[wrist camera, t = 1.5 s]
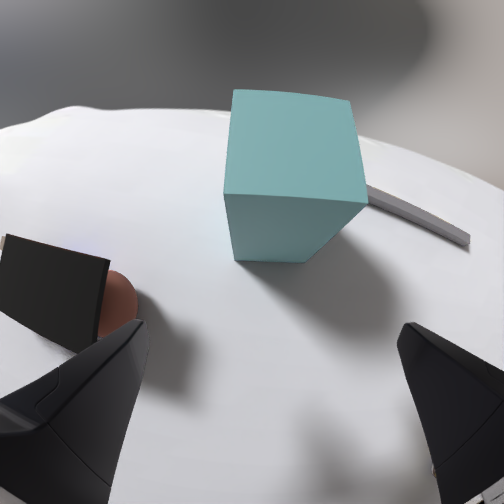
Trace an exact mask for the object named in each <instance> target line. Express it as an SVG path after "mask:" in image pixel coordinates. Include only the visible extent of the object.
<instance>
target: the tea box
mask: <svg viewBox="0 0 504 504" xmlns="http://www.w3.org/2000/svg"><path fill="white" fill-rule="evenodd" d="M223 194H224V201H225V207H226V213H227V219H228V225H229V231H230V237H231V243H232V249H233V254H234V260H237V261H263V262H290V263H305V262H306V261H307V260H308V259H310V258H311V257H312V256H313V255H314V254H315V253H316V252H317V251H318V250H319V249H321V248H322V247H323V246H324V245H325V244H326V243H327V242H328V241H329V240H330V239H331V238H332V237H334V236H335V235H336V234H337V233H338V232H339V231H340V230H341V229H342V228H343V227H344V226H345V225H346V224H347V223H349V222H350V221H351V220H352V219H353V218H354V217H355V216H356V215H357V214H358V213H359V212H360V211H361V210H362V209H363V208H364V207H365V206H366V205H367V204H368V195H367V188H366V181H365V175H364V169H363V163H362V157H361V152H360V146H359V141H358V136H357V132H356V127H355V122H354V118H353V114H352V110H351V106H350V102H349V101H346V100H341V99H334V98H329V97H322V96H315V95H307V94H299V93H289V92H278V91H263V90H234V92H233V100H232V110H231V118H230V127H229V137H228V147H227V158H226V169H225V180H224V192H223Z"/></svg>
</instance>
